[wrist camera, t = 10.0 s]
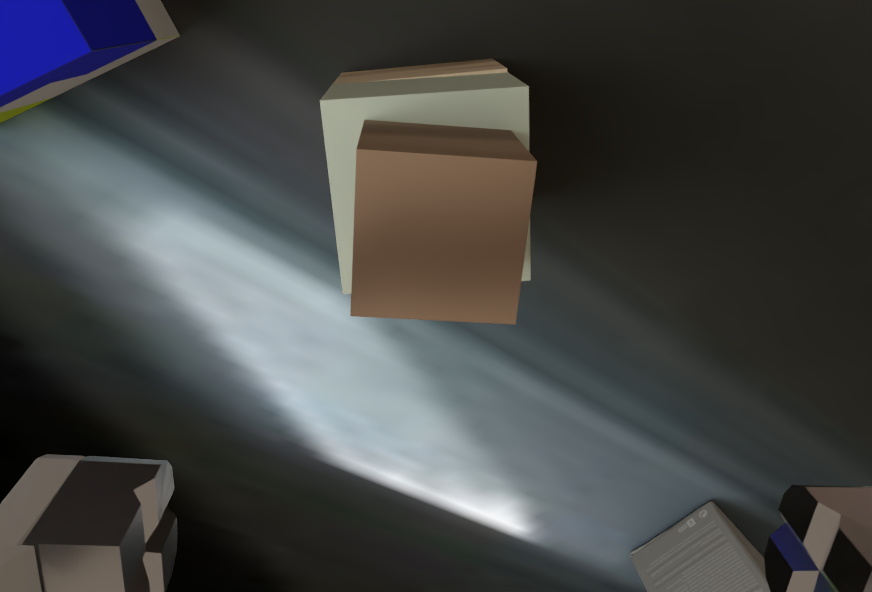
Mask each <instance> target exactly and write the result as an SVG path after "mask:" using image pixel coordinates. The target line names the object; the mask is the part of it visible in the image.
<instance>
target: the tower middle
mask: <svg viewBox="0 0 872 592" xmlns="http://www.w3.org/2000/svg"><path fill="white" fill-rule="evenodd" d="M320 107H321V115H322V124H323V132H324V140H325V149H326V157H327V165H328V174H329V182H330V191H331V199H332V207H333V216H334V224H335V232H336V241H337V249H338V258H339V266H340V274H341V283H342V291H343V294H351V289H352V261H353V232H354V204H355V176H356V149H357V145H358V141H359V138H360V134H361V130H362V127H363V123H364V120H375V121H389V122H403V123H417V124H431V125H445V126H459V127H473V128H487V129H501V130H511V131H512V132H513V133H514V134H515V136H516V137H517V138H518V139H519V140H520V142H521V143H522V144H523V145H524V146H525V147H526V149H527V150H528V151H529V86H528V85H526V84H525V83H523V82H522V81H520V80H519V79H517V78H516V77H514V76H513V75H511V74H510V73H508V72H504V73H489V74H474V75H459V76H444V77H430V78H415V79H400V80H385V81H370V82H355V83H340V84H332V85H331V87H330V88H329V89H328V91H327V92H326V93H325V94H324V96H323V97H322V98H321V99H320ZM529 280H530V219H529V227H528V234H527V242H526V249H525V257H524V264H523V272H522V279H521V281H529Z"/></svg>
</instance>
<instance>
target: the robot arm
mask: <svg viewBox="0 0 872 592" xmlns="http://www.w3.org/2000/svg"><path fill="white" fill-rule="evenodd" d="M173 490H174V482H173V473H172V466H171V465H170V464H169V463H168V461H162V460H145V459H128V458H111V457H94V456H88V457H84V456H71V455H44V456H42V457H39V458H37V459H36V460H35V461H34V462H33V464H32V465H31V466H30V467H29V469H28V470H27V471H26V472H25V474H24V475H23V476H22V477H21V479H20V480H19V481H18V482H17V484H16V485H15V486H14V488H13V489H12V490H11V491H10V493H9V494H8V495H7V496H6V498H5V499H4V500H3V501H2V503H1V504H0V592H165V591H166V588H167V585H168V583H169V580H170V577H171V574H172V570H173V565H174V560H175V555H176V547H177V520H176V516H175V515H174V514H173V513H172V512H171V511H170V510H169V509H168V507H167V504H168V501H169V499H170V497H171V495H172V492H173ZM778 510H779V512H780V514H781V516H782V518H783V520H784V522H785V523H784V524H783V525H782V526H781V527H780V528H779V529H777V530H776V531H775V532H774V533H773V534H772V535H770V537H769V540H768V544H767V548H766V551H765V555H764V561H765V576H766V580H767V583H768V586H769V589H770V592H872V486H864V487H838V486H806V485H792V486H791V487H790V488H789V489H788V490H787V491H786V492H785V493H784V495H783V498H782V501H781V504H780V507H779V509H778Z"/></svg>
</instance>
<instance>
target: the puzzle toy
mask: <svg viewBox="0 0 872 592" xmlns="http://www.w3.org/2000/svg"><path fill="white" fill-rule="evenodd" d="M177 37H180V35H179V33H178V31H177V29H176V28H175V26H174V24H173V22H172V20H171V18H170V17H169V15H168V13H167V11H166V9H165V7H164V6H163V4H162V2H161V0H0V123H2V122H4V121H6V120H8V119H10V118H12V117H14V116H16V115H18V114H20V113H22V112H24V111H26V110H28V109H31V108H33V107H35V106H37V105H39V104H41V103H43V102H45V101H47V100H49V99H51V98H53V97H55V96H57V95H59V94H62V93H64V92H66V91H68V90H70V89H72V88H74V87H76V86H78V85H80V84H82V83H84V82H86V81H88V80H91V79H93V78H95V77H97V76H99V75H101V74H103V73H105V72H107V71H109V70H111V69H113V68H115V67H117V66H120V65H122V64H124V63H126V62H128V61H130V60H132V59H134V58H136V57H138V56H140V55H142V54H144V53H146V52H149V51H151V50H153V49H155V48H157V47H159V46H161V45H163V44H165V43H167V42H169V41H171V40H173V39H175V38H177Z"/></svg>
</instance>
